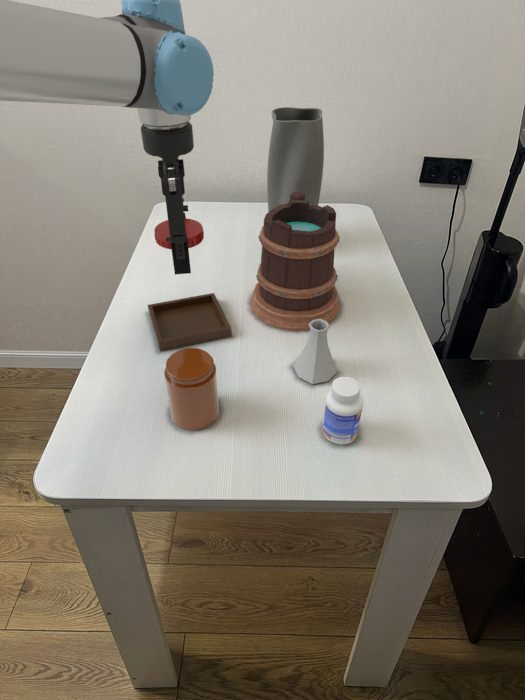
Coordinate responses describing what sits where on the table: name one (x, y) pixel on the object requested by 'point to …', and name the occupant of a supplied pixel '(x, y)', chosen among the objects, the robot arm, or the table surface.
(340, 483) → the table surface
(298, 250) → the mug
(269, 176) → the vase
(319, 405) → the table surface
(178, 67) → the robot arm
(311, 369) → the flask
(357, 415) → the pill bottle
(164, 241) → the lid
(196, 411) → the jar
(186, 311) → the tray
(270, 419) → the table surface
